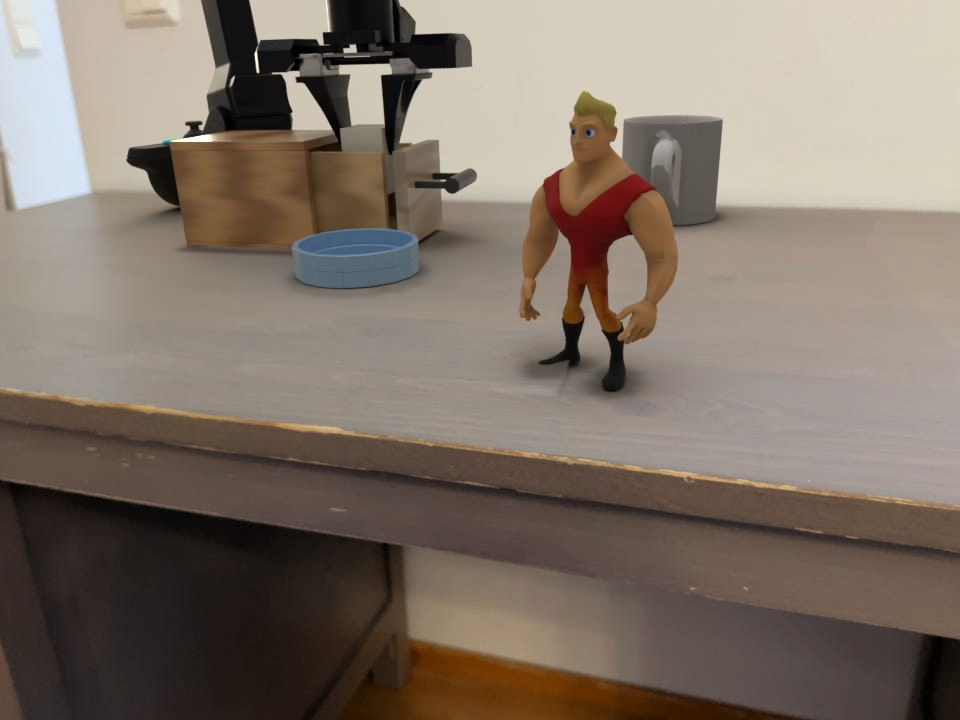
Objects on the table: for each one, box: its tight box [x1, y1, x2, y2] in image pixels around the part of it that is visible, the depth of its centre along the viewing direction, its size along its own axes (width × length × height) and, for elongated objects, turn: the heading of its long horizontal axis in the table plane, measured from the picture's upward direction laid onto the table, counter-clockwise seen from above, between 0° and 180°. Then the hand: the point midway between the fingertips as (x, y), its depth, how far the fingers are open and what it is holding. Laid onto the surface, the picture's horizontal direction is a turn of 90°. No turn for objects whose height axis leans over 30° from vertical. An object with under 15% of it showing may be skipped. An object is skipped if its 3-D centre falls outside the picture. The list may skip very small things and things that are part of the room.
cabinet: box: [169, 129, 339, 250], centre depth 76 cm, size 14×11×10 cm
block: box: [340, 123, 395, 195], centre depth 73 cm, size 4×4×6 cm
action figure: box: [518, 90, 679, 391], centre depth 41 cm, size 10×4×15 cm, turn 49°
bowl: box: [291, 228, 421, 289], centre depth 63 cm, size 10×10×3 cm
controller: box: [125, 120, 203, 207], centre depth 95 cm, size 4×12×10 cm, turn 151°
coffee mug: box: [621, 114, 724, 226], centre depth 81 cm, size 13×10×10 cm
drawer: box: [308, 139, 478, 242], centre depth 73 cm, size 17×9×8 cm, turn 75°
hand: (370, 154), depth 72 cm, fingers closed on block, 4 cm apart
